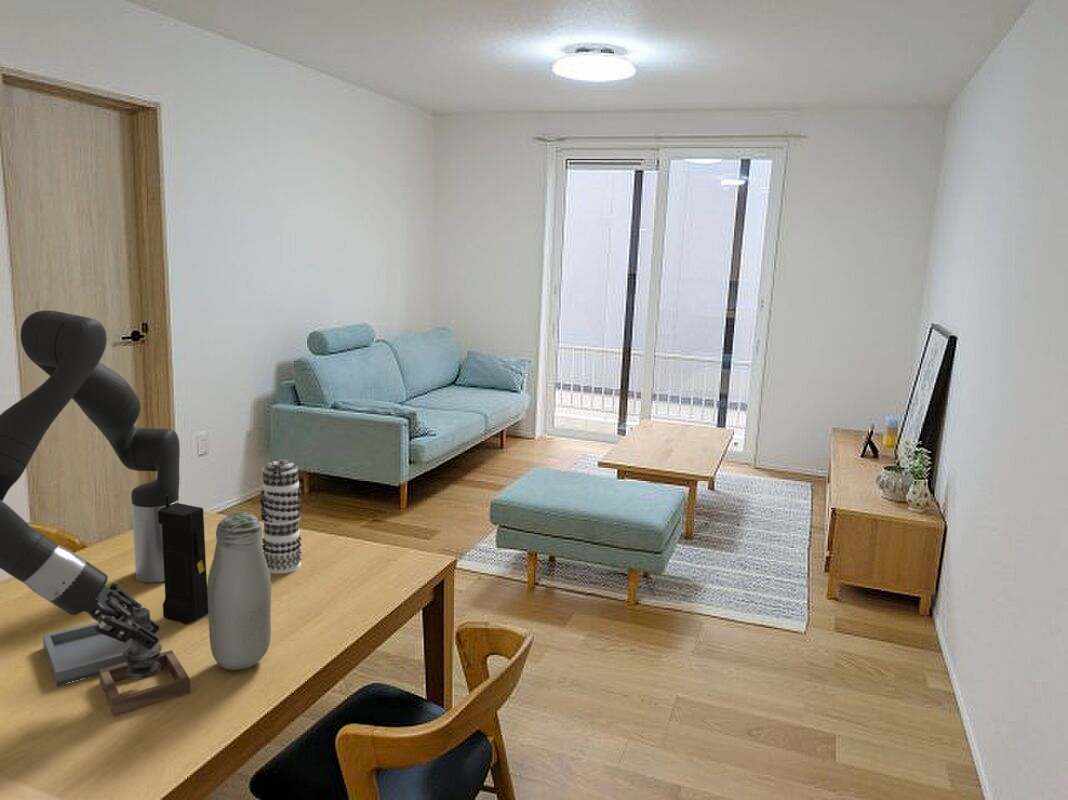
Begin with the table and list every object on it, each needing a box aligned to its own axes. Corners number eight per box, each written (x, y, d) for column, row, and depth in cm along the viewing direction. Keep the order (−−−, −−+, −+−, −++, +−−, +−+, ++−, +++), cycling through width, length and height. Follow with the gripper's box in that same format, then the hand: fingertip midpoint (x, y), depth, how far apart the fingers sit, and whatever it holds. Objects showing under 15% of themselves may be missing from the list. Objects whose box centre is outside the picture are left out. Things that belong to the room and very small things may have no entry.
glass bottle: (236, 686, 131) (232, 530, 125) (199, 666, 136) (193, 516, 130) (283, 661, 139) (281, 514, 133) (246, 643, 144) (242, 501, 138)
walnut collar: (99, 683, 129) (99, 669, 129) (172, 662, 136) (171, 649, 136) (114, 716, 121) (113, 702, 120) (191, 693, 128) (190, 679, 127)
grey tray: (44, 647, 139) (42, 635, 139) (135, 625, 149) (134, 613, 148) (57, 686, 128) (56, 672, 127) (154, 659, 137) (154, 646, 137)
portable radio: (216, 613, 155) (211, 494, 150) (193, 626, 149) (188, 504, 144) (184, 605, 157) (179, 488, 152) (161, 618, 152) (155, 497, 147)
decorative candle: (311, 564, 180) (310, 462, 175) (279, 578, 172) (277, 470, 167) (285, 555, 184) (283, 454, 179) (252, 567, 177) (250, 462, 172)
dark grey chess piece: (146, 682, 125) (143, 614, 122) (115, 676, 126) (110, 609, 123) (170, 663, 130) (167, 598, 128) (140, 657, 132) (136, 593, 129)
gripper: (78, 580, 115) (171, 641, 122) (89, 544, 127) (173, 601, 135) (39, 618, 114) (136, 677, 121) (53, 578, 126) (140, 634, 134)
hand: (155, 637), depth 128 cm, fingers closed on dark grey chess piece, 3 cm apart
